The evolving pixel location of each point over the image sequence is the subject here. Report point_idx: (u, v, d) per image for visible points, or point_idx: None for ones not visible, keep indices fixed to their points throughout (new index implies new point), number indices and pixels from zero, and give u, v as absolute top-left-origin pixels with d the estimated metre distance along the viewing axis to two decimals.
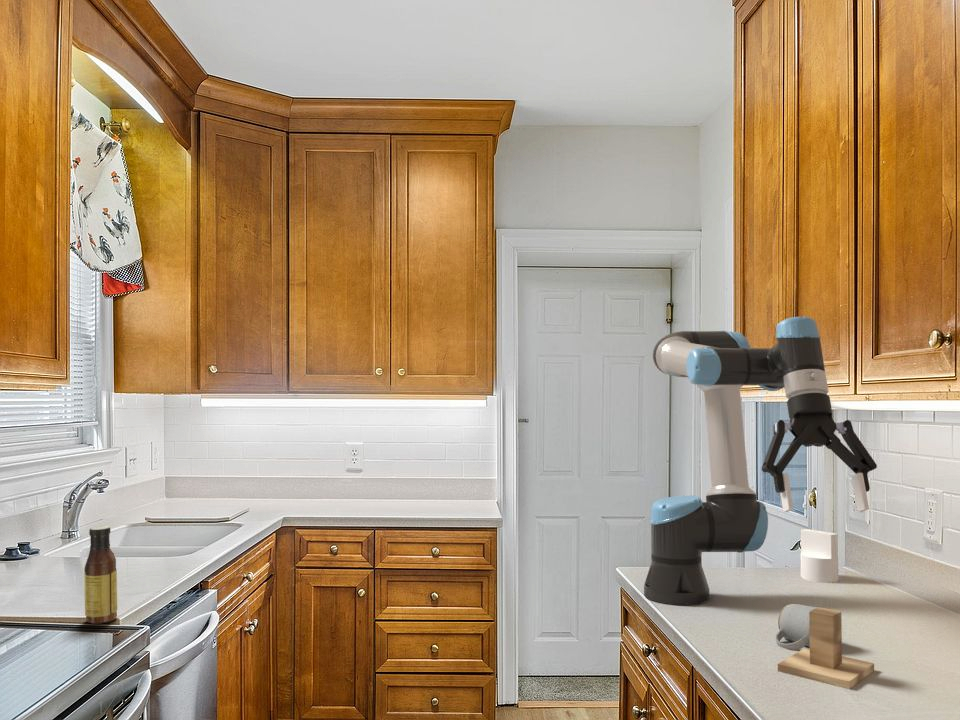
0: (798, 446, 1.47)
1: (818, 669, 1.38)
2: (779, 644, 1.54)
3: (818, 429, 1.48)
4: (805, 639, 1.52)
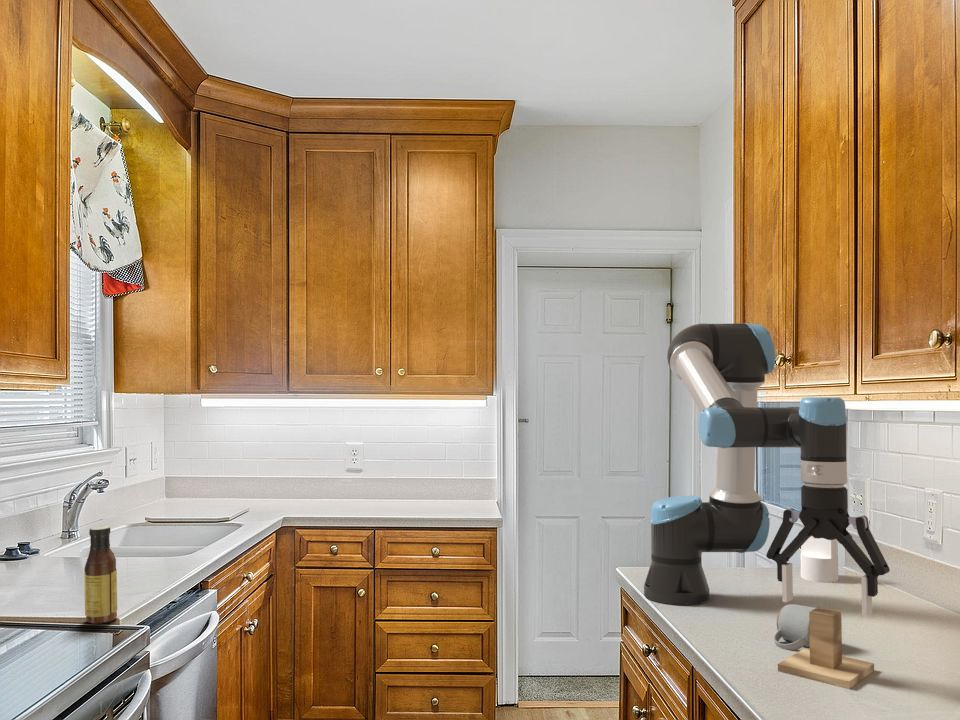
0: (801, 539, 1.43)
1: (818, 669, 1.38)
2: (777, 644, 1.54)
3: None
4: (803, 639, 1.52)
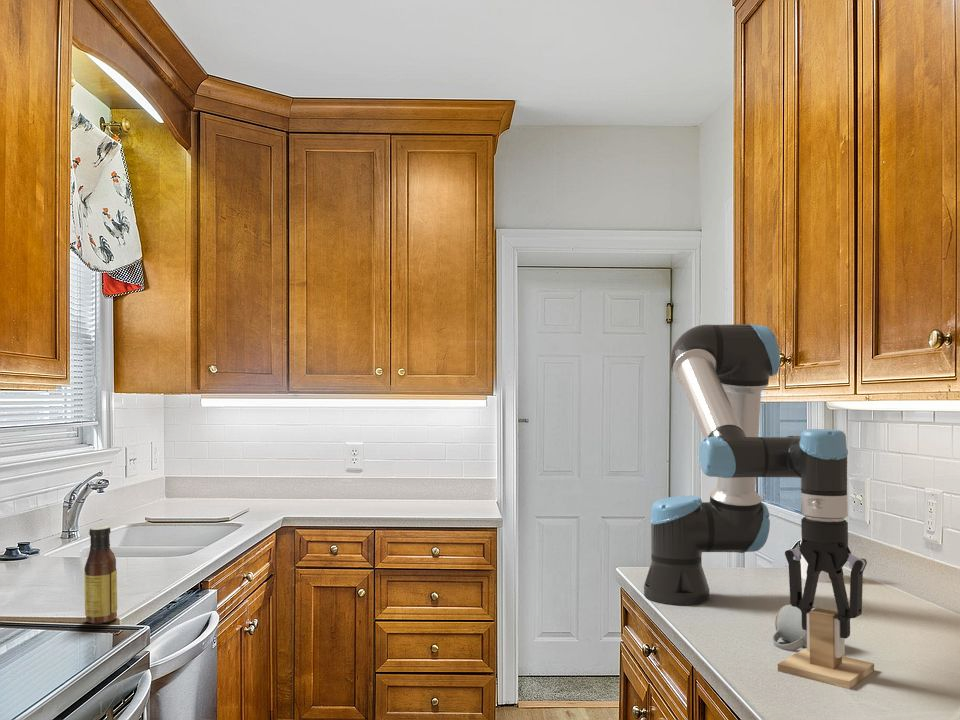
0: (811, 578, 1.42)
1: (818, 669, 1.38)
2: (776, 645, 1.54)
3: (825, 555, 1.40)
4: (802, 640, 1.52)
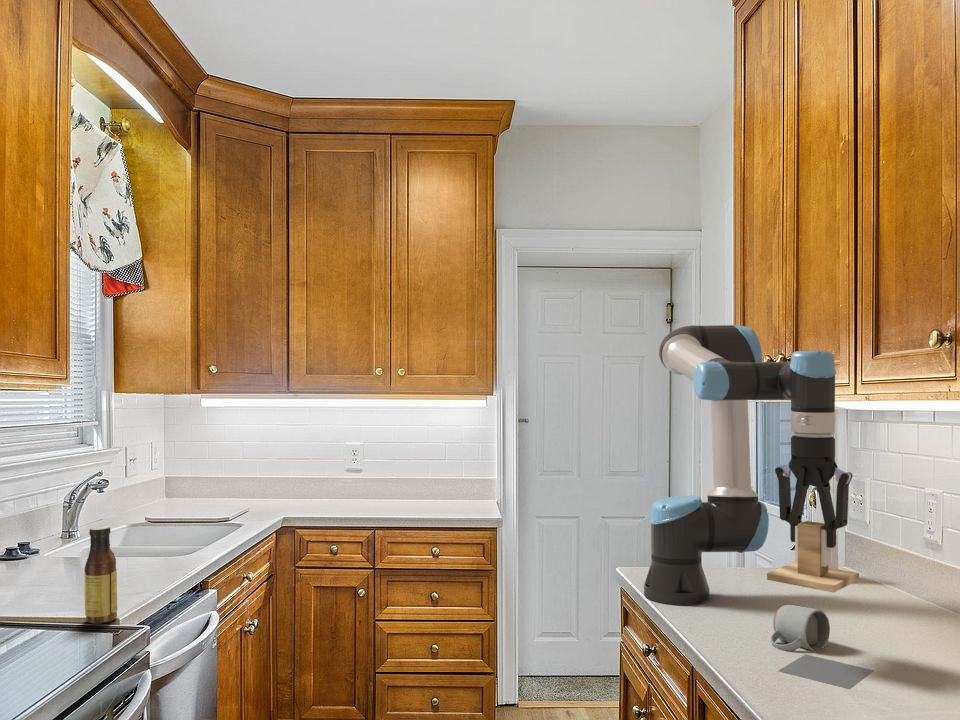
0: (800, 492, 1.49)
1: (805, 577, 1.45)
2: (774, 645, 1.53)
3: (813, 469, 1.47)
4: (800, 640, 1.52)
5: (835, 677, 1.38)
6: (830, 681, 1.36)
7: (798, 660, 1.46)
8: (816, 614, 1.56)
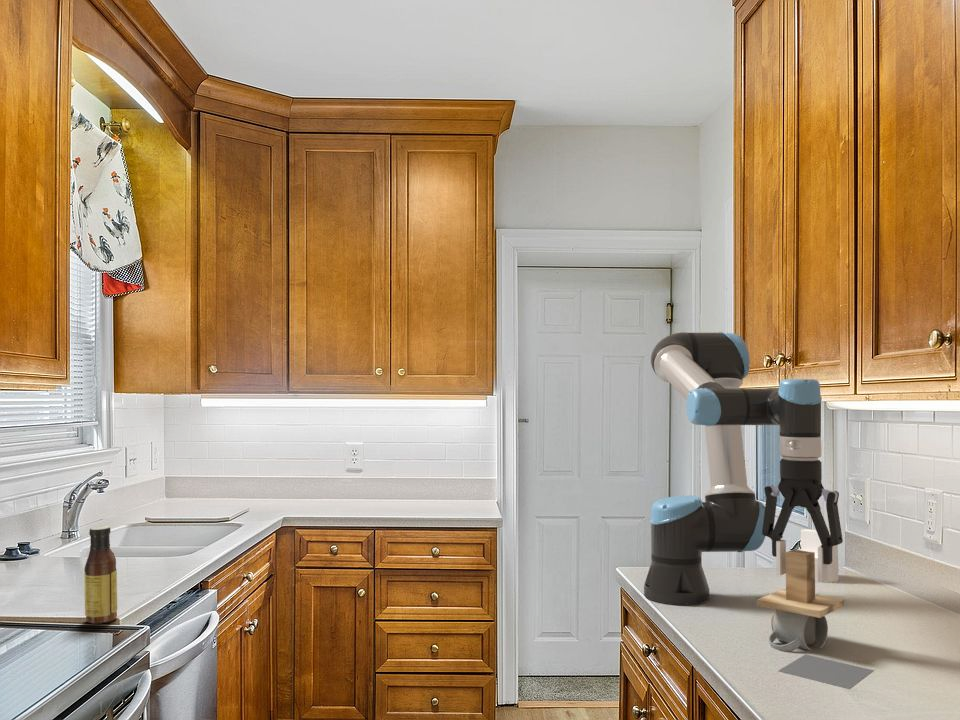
0: (785, 511, 1.57)
1: (793, 603, 1.53)
2: (772, 645, 1.53)
3: (801, 492, 1.56)
4: (798, 640, 1.51)
5: (835, 677, 1.38)
6: (830, 681, 1.36)
7: (798, 660, 1.46)
8: None
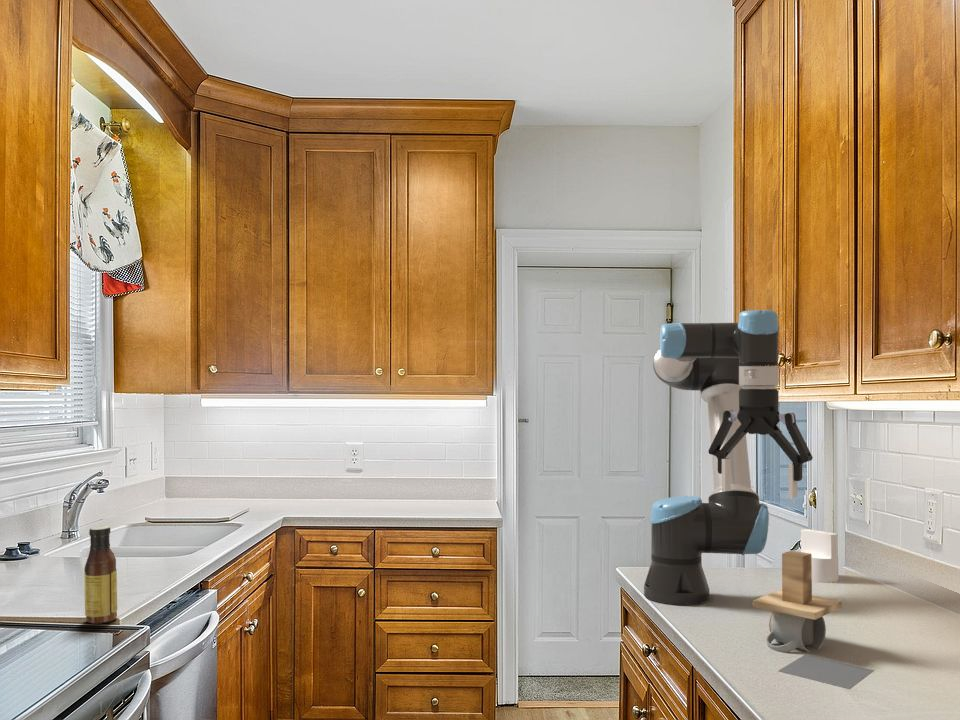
0: (738, 435, 1.63)
1: (789, 604, 1.53)
2: (770, 646, 1.53)
3: None
4: (796, 641, 1.51)
5: (835, 677, 1.38)
6: (830, 681, 1.36)
7: (798, 660, 1.46)
8: None
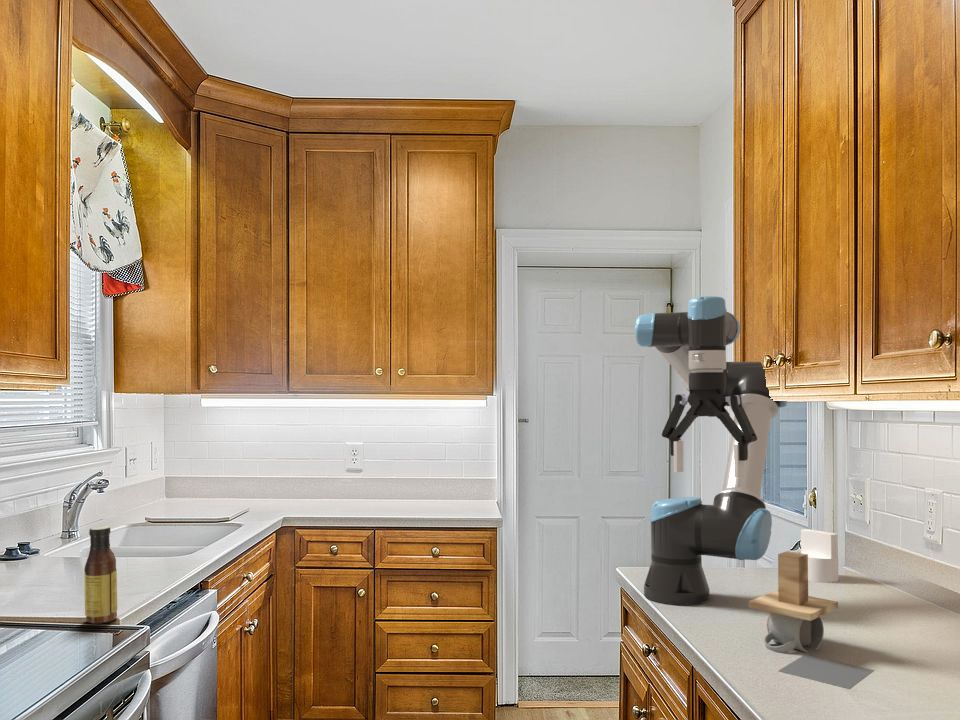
0: (688, 418, 1.69)
1: (785, 605, 1.52)
2: (768, 647, 1.52)
3: None
4: (794, 642, 1.51)
5: (835, 677, 1.38)
6: (830, 681, 1.36)
7: (798, 660, 1.46)
8: None
